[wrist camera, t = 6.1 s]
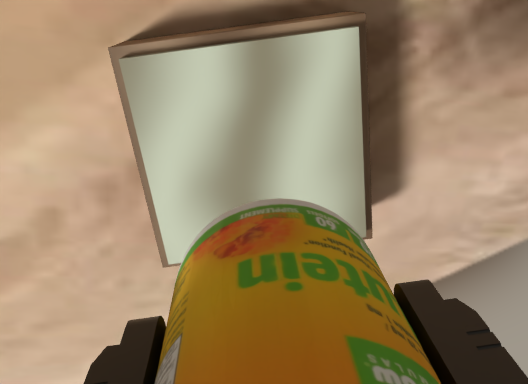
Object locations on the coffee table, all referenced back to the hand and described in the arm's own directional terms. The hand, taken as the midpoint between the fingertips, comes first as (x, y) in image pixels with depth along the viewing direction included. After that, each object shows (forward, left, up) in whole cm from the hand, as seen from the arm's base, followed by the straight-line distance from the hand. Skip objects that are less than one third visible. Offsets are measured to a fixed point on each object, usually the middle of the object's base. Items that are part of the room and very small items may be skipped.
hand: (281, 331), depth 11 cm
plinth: (0, 0, -17) cm, 17 cm away
